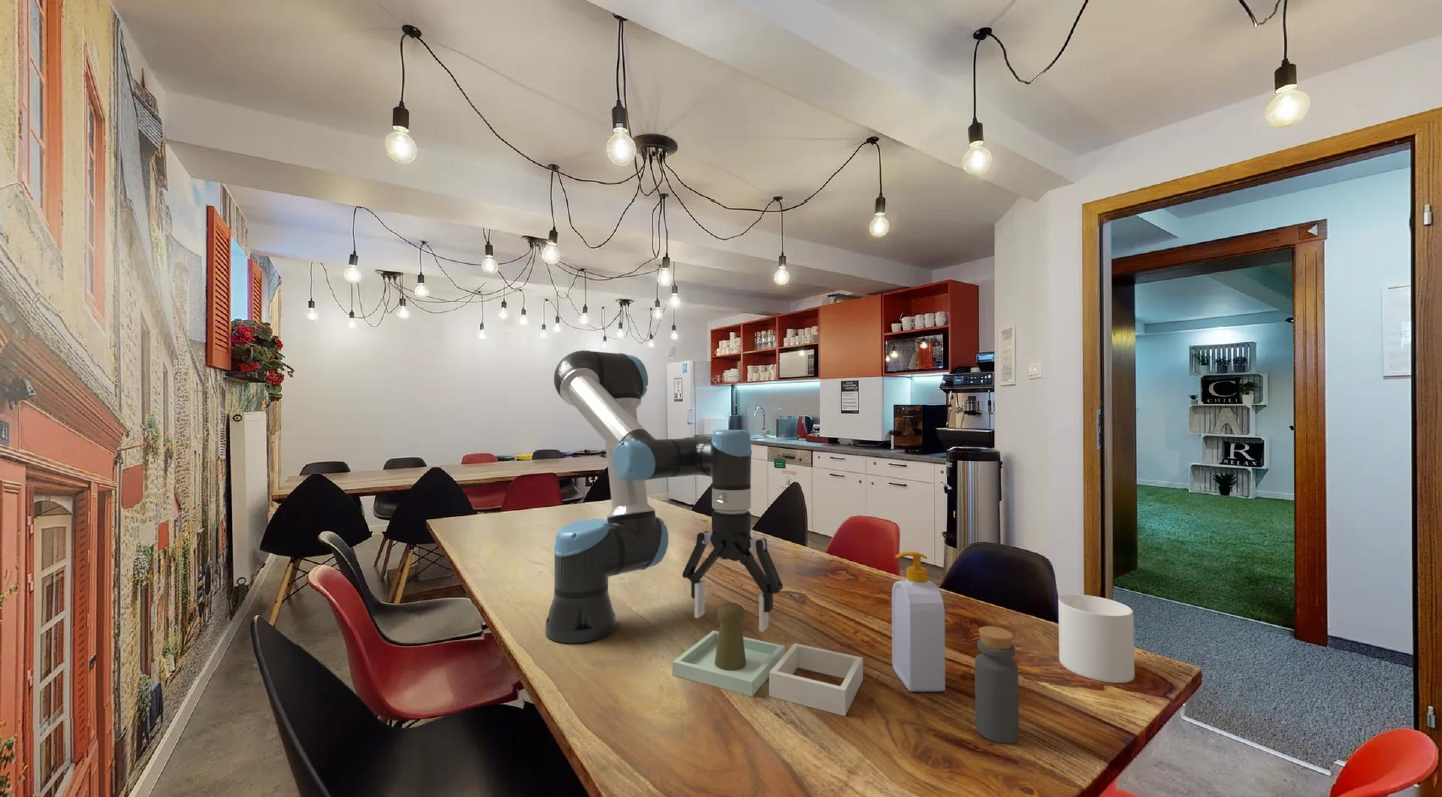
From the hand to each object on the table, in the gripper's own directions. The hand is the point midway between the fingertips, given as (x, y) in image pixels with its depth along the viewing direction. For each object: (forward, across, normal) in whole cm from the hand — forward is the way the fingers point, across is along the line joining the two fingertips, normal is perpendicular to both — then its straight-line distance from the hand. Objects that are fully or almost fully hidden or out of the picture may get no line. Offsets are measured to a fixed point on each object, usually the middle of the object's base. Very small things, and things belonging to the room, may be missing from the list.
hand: (730, 622), depth 101 cm
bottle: (+8, +45, 0) cm, 46 cm away
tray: (+8, 0, 0) cm, 8 cm away
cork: (+8, 0, 0) cm, 8 cm away
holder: (+8, +17, 0) cm, 19 cm away
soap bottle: (+8, +32, +11) cm, 35 cm away
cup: (+9, +62, +32) cm, 70 cm away
